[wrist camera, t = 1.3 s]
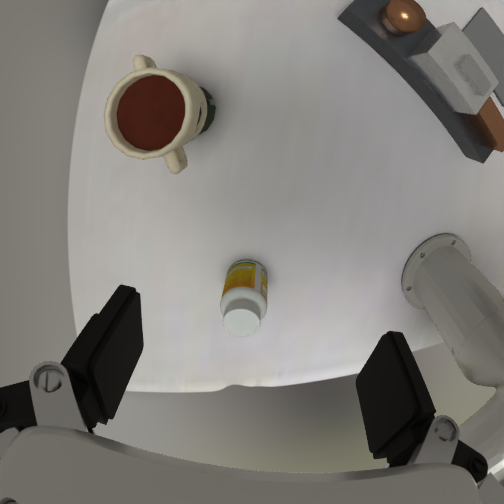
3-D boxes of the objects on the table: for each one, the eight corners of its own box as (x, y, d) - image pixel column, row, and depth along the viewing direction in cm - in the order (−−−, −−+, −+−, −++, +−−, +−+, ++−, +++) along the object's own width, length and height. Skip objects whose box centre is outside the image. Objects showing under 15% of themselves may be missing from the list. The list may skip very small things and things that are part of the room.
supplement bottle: (275, 273, 39) (277, 320, 30) (251, 299, 41) (247, 348, 32) (242, 250, 37) (235, 295, 29) (219, 278, 40) (207, 326, 31)
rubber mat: (524, 71, 21) (526, 71, 21) (502, 106, 25) (504, 106, 25) (480, 7, 18) (482, 7, 18) (455, 38, 22) (457, 38, 22)
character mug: (233, 145, 31) (213, 166, 20) (175, 163, 33) (129, 195, 21) (204, 58, 27) (169, 29, 15) (147, 81, 28) (87, 72, 16)
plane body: (489, 124, 27) (522, 132, 21) (466, 156, 30) (497, 169, 23) (369, -12, 21) (390, -33, 15) (337, 18, 24) (354, -1, 17)
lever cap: (475, 81, 21) (503, 82, 17) (452, 111, 24) (480, 115, 19) (432, 29, 19) (458, 20, 15) (406, 57, 22) (431, 51, 17)
